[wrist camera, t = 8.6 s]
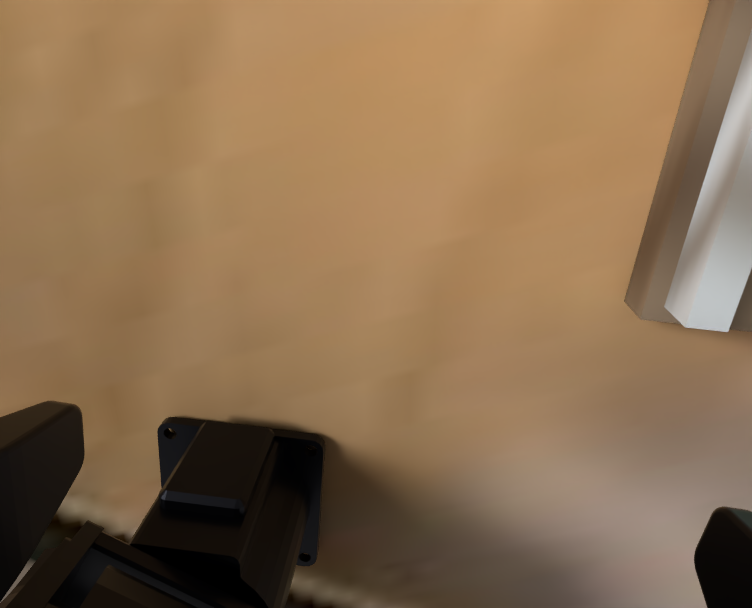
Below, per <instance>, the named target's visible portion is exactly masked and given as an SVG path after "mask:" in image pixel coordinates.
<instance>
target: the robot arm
mask: <svg viewBox="0 0 752 608" xmlns="http://www.w3.org/2000/svg"><path fill="white" fill-rule="evenodd" d="M168 428H171V429H173V430H174V431H176V433H173V432H171V431H170V430H169V429H168ZM158 445H159V459H160V472H161V486H162V489H161V491H160V493H159V495H158V497H157V498H156V500H155V502H154V503H153V505H152V506H151V508H150V510H149V511H148V513H147V515H146V516H145V518H144V519H143V521H142V523H141V524H140V526H139V527H138V529H137V531H136V532H135V534H134V535H133V537H132V539H131V540H130V542H129V543H128V544H127V543H125V542H123V541H121V540H119V539H117V538H115V537H113V536H111V535H109V534H107V533H105V532H103V529H104V528H103V527H101V526H99V525H97V524H95V523H93V522H91V521H89V520H88V521H87V522H86V523H85V524H84V525H83V526H82V528H81V529H80V530H79V531H78V532H77V534H76V535H75V536H74V537H73V538H72V540H71V539H69V538H67V537H66V538H65V539H64V540H63V541H62V543H61V544H60V545H59V546H58V547H57V548H50V549H45V550H44V552H43V553H42V554H41V556H40V557H39V558H38V559H37V561H36V562H35V563H34V564H33V566H32V567H31V568H30V570H29V571H28V572H27V573H26V575H25V576H24V577H23V578H22V580H21V581H20V582H19V583H18V585H17V586H16V587H15V588H14V589H13V590H12V592H11V593H10V594H9V595H8V596H7V597H6V598H5V599H4V600H3V601H2V602H1V603H0V608H285V606H286V602H287V598H288V595H289V591H290V587H291V583H292V579H293V575H294V571H295V567H296V565H300V566H310V565H313V564H314V563H315V562H316V559H317V555H318V547H319V532H320V517H321V502H322V487H323V472H324V457H325V442H324V440H323V439H322V438H321V437H320V436H318V435H315V434H309V433H301V432H293V431H284V430H276V429H269V428H265V427H256V426H248V425H240V424H232V423H223V422H215V421H202V420H194V419H186V418H177V417H169V418H166V419H165V420H164V421H163V422H162V424H161V425H160V426H159V428H158ZM310 445H311V446H314V447H315V448H316V450H311V449H309V448H308V447H307V446H310ZM83 460H84V437H83V421H82V412H81V410H80V408H79V407H78V406H77V405H75V404H69V403H63V402H57V401H46V402H43V403H40V404H37V405H34V406H31V407H28V408H25V409H23V410H20V411H17V412H14V413H11V414H8V415H6V416H3V417H0V601H1V600H2V599H3V597H4V596H5V594H6V593H7V591H8V590H9V589H10V587H11V586H12V584H13V583H14V582H15V580H16V579H17V577H18V576H19V574H20V573H21V571H22V570H23V568H24V567H25V565H26V563H27V562H28V560H29V558H30V557H31V555H32V554H33V552H34V550H35V548H36V547H37V545H38V543H39V541H40V540H41V538H42V536H43V534H44V533H45V531H46V529H47V527H48V526H49V524H50V522H51V520H52V519H53V517H54V515H55V513H56V512H57V510H58V508H59V506H60V505H61V503H62V501H63V499H64V498H65V496H66V494H67V492H68V491H69V489H70V487H71V485H72V484H73V482H74V480H75V478H76V477H77V475H78V473H79V471H80V469H81V467H82V464H83ZM304 553H307V554H304ZM694 563H695V569H696V573H697V576H698V579H699V582H700V585H701V589H702V592H703V595H704V598H705V601H706V605H707V608H752V512H751V511H748V510H743V509H737V508H730V507H719V508H717V509H716V510H715V511H714V512H713V513H712V515H711V517H710V519H709V521H708V524H707V526H706V528H705V530H704V532H703V534H702V537H701V539H700V541H699V543H698V545H697V547H696V550H695V555H694Z"/></svg>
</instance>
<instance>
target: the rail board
mask: <svg viewBox="0 0 752 608" xmlns="http://www.w3.org/2000/svg"><path fill="white" fill-rule="evenodd" d="M624 302H625V303H626V304H627V305H628V306H629V307H630V308H631V310H632V311H633V312H634V313H635V314H636V315H637V316H638V318H639V319H641V320H650V321H659V322H668V323H677V324H682V325H683V326H684V327H686V328H695V329H704V330H713V331H722V332H728V331H729V329H731V330H739V331H748V332H752V0H710V1H709V4H708V8H707V11H706V15H705V19H704V22H703V26H702V29H701V33H700V36H699V40H698V43H697V47H696V50H695V54H694V57H693V61H692V64H691V68H690V71H689V75H688V78H687V82H686V85H685V89H684V93H683V96H682V100H681V103H680V107H679V110H678V114H677V117H676V121H675V124H674V128H673V131H672V135H671V138H670V142H669V145H668V149H667V152H666V156H665V159H664V163H663V166H662V170H661V174H660V177H659V181H658V184H657V188H656V191H655V195H654V198H653V202H652V205H651V209H650V212H649V216H648V219H647V223H646V226H645V230H644V233H643V237H642V240H641V244H640V247H639V251H638V255H637V258H636V262H635V265H634V269H633V272H632V276H631V279H630V283H629V286H628V290H627V293H626V297H625V300H624Z"/></svg>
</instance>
